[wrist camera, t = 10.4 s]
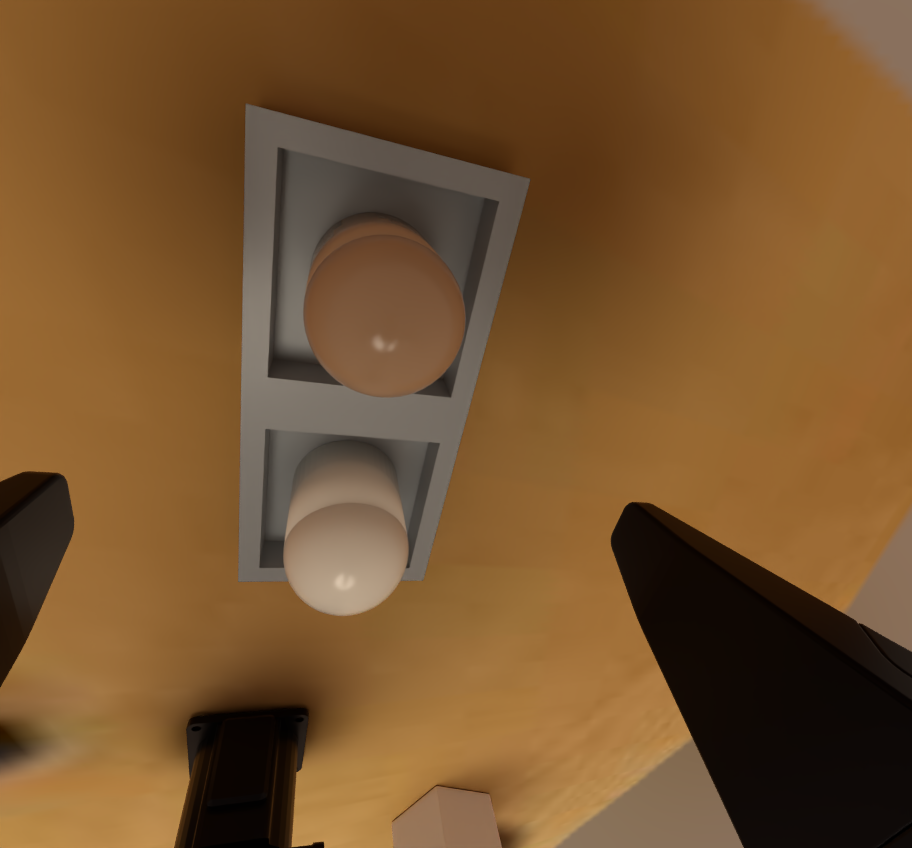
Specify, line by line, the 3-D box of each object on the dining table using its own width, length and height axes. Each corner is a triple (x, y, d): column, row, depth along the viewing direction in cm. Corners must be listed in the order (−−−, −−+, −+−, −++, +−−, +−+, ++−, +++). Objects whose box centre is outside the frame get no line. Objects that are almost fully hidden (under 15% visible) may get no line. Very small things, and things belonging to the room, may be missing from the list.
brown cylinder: (425, 347, 18) (462, 432, 13) (305, 332, 17) (293, 420, 12) (449, 226, 16) (503, 271, 11) (314, 199, 15) (303, 235, 10)
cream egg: (388, 523, 22) (404, 641, 17) (289, 520, 21) (273, 646, 16) (404, 444, 20) (427, 550, 15) (296, 436, 19) (280, 548, 14)
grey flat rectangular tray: (417, 549, 24) (423, 580, 22) (246, 547, 22) (238, 581, 20) (510, 174, 16) (530, 179, 14) (257, 108, 14) (245, 103, 12)
